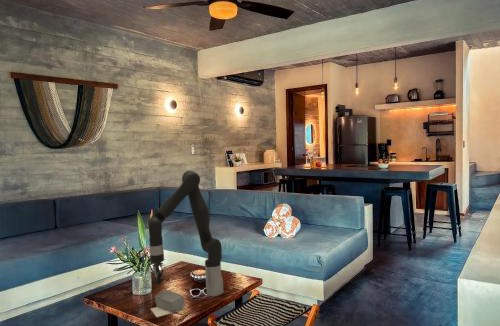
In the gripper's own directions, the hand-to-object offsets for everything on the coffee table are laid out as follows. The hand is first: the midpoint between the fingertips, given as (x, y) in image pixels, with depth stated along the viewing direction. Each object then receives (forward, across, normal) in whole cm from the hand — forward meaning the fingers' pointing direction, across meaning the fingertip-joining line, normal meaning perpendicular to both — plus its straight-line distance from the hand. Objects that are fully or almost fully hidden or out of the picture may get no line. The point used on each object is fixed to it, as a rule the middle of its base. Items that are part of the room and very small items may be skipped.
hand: (158, 283), depth 213 cm
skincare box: (+9, 0, 0) cm, 9 cm away
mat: (+12, -8, -1) cm, 15 cm away
